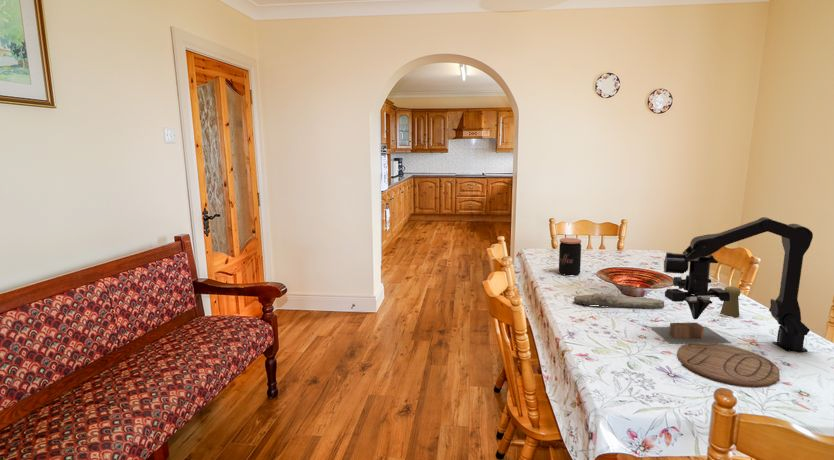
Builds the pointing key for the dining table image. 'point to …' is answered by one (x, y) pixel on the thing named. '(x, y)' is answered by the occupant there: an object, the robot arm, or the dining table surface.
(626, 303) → the long grey stone
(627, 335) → the dining table surface
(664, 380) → the dining table surface
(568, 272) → the coffee jar
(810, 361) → the dining table surface
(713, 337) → the rubber mat
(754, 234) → the robot arm
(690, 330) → the walnut block
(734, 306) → the cork
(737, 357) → the trivet
